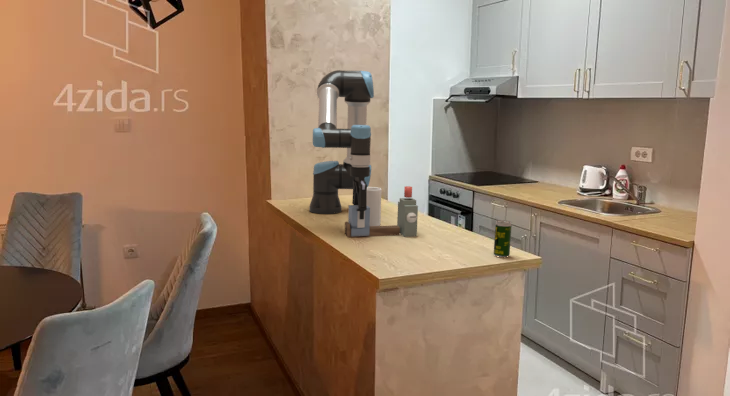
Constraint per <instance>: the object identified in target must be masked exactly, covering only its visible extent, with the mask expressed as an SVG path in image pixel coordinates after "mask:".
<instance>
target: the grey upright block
mask: <svg viewBox="0 0 730 396" xmlns="http://www.w3.org/2000/svg"><path fill="white" fill-rule="evenodd" d="M418 210H419V206H418V205H417V199H415V198H413V197H411V198H406V197H402V198H401V197H400V198H399V201H397V217H396V219H397V220H396V221H397V223H396V225H397V226H399V227H400V236H403V237H404V238H406V237H407V238H408V237H409V238H410V237H411V238H412V237H418V236H417V235H418V216H419V214H418V213H419V212H418Z"/></svg>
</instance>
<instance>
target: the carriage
mask: <svg viewBox="0 0 730 396" xmlns="http://www.w3.org/2000/svg"><path fill="white" fill-rule="evenodd" d="M357 209H358V205H353V204H349V205H348V219H347V222H348V223H349V224H350V228H351V236H357V237H370V236H369V231H370V207H368V206H367V210H365V227H364V228H357V214H358V211H357Z"/></svg>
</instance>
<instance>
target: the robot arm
mask: <svg viewBox="0 0 730 396" xmlns="http://www.w3.org/2000/svg"><path fill="white" fill-rule="evenodd" d="M316 96H317V98H318V115H317V116H318V117H317V119H318V120H317V121H318V124H317V127H314V128H313V129H312V146H313V147H314V148H322V149H327V148H328V149H330V148H333V149H334V148H337V149H341V148H342V149H346V157H345V158H344V159H343V163H340V161H338V160H327V161H321V162H317V163H315V164H314V165H313V171H312V172H313V173H312V175H313V180H312V181H313V184H312V185H313V187H312V189H313V190H312V191H313V192H312V198H311V200H310V202H309V203H310V204H309V207H308V208H309V212H311V213H314V214H319V215H322V214H323V215H328V214H329V215H331V214H339V213H342V208H343V207H342V204H341V200H340V197H339V190H352V200H351V201H352V204H351V205H358V209H357V211H358V214H357V228H364V227H365V210H367V187H370V182H371V176H372V164H371V140H372V139H371V136H372V127H371V126H370V125H369V124H367V115H368V113H367V111H368V110H367V109H368V105H369V104H370V103H371V99H373V98H374V97H375V93H374V82H373V75H372V72H370V71H366V70H342V69H339V70H338V69H337V70H333V71H330V72H329V73H327V74H326V75H324V76H323V77H322V78H321V80H320V81H319V83H318V85H317V88H316ZM339 98H344V102H345V104H347V128H338V125H337V124H338V122H337V121H338V117H337V116H338V111H337V110H338V103H337V102H338V99H339Z"/></svg>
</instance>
